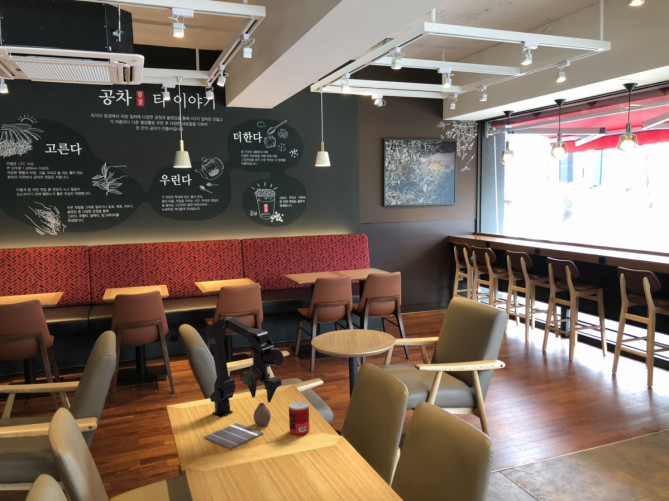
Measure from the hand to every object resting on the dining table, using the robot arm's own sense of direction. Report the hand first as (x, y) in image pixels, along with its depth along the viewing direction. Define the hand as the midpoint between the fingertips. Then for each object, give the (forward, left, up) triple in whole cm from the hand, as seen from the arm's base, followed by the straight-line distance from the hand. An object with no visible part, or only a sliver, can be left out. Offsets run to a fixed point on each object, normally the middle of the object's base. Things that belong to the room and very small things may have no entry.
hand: (261, 399), depth 213 cm
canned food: (+17, +4, -11) cm, 20 cm away
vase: (0, 0, -11) cm, 11 cm away
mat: (-1, -14, -10) cm, 17 cm away
